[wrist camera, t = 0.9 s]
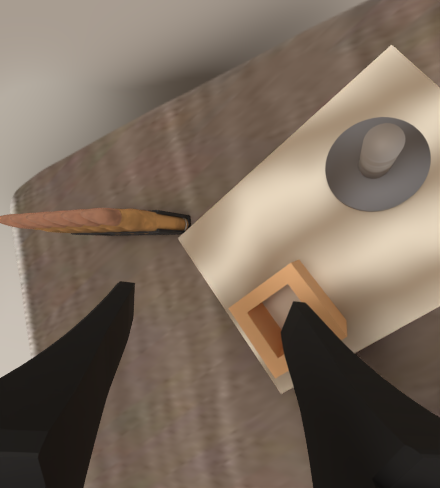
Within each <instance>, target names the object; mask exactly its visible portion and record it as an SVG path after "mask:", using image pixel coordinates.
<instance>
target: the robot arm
mask: <svg viewBox="0 0 440 488" xmlns="http://www.w3.org/2000/svg"><path fill="white" fill-rule="evenodd" d="M134 290H135V283H130V282H121V281H120V282H119V283H117V285H116V286H115V287H114V288H113V289H112V290H111V292H110V293H109V294H108V295H107V296H106V297H105V298H104V299H103V300H102V301H101V302H100V303H99V304H98V305H97V306H96V307H95V308H94V309H93V310H92V311H91V312H90V313H89V314H88V315H87V316H86V317H85V318H84V319H83V320H81V321H80V322H79V323H78V324H77V325H76V326H75V327H74V328H72V329H71V330H70V331H69V332H68V333H66V334H65V335H64V336H63V337H61V338H60V339H59V340H57V341H56V342H55V343H53V344H52V345H51V346H49V347H48V348H47V349H45V350H44V351H42V352H41V353H39V354H38V355H37V356H35V357H34V358H32V359H31V360H29V361H28V362H26V363H25V364H23V365H22V366H20V367H18V368H16V369H15V370H13V371H11V372H10V373H8V374H6V375H5V376H3V377H1V378H0V488H83V487H84V482H85V478H86V474H87V470H88V466H89V463H90V459H91V455H92V451H93V447H94V443H95V439H96V435H97V431H98V428H99V424H100V420H101V416H102V413H103V409H104V405H105V402H106V398H107V395H108V392H109V389H110V386H111V384H112V381H113V378H114V376H115V373H116V370H117V368H118V365H119V362H120V360H121V357H122V354H123V352H124V349H125V346H126V343H127V341H128V337H129V333H130V329H131V325H132V321H133V313H134ZM281 339H282V345H283V351H284V356H285V359H286V363H287V366H288V370H289V373H290V376H291V380H292V383H293V386H294V390H295V393H296V396H297V400H298V403H299V407H300V411H301V416H302V421H303V426H304V432H305V437H306V443H307V449H308V455H309V461H310V468H311V475H312V481H313V488H440V418H439V417H438V416H436V415H435V414H433V413H431V412H430V411H428V410H427V409H425V408H424V407H422V406H421V405H419V404H418V403H416V402H415V401H413V400H412V399H410V398H409V397H408V396H406V395H405V394H403V393H402V392H401V391H399V390H398V389H397V388H395V387H394V386H393V385H391V384H390V383H389V382H387V381H386V380H385V379H383V378H382V377H381V376H380V375H378V374H377V373H376V372H375V371H374V370H373V369H371V368H370V367H369V366H368V365H367V364H365V363H364V362H363V361H362V360H361V359H360V358H359V357H358V356H357V355H356V354H355V353H354V352H353V351H351V350H350V349H349V348H348V347H347V346H346V345H345V344H344V343H343V342H342V341H341V340H340V339H339V338H338V337H337V336H336V335H335V333H334V332H333V331H332V330H331V329H330V328H329V327H328V326H327V325H326V324H325V323H324V322H323V321H322V319H321V318H320V317H319V316H318V315H317V314H316V313H315V312H314V311H313V310H312V309H311V308H310V306H309V305H308V304H307V303H305V302H296V301H293V303H292V305H291V308H290V310H289V313H288V315H287V318H286V320H285V323H284V325H283V328H282V330H281Z"/></svg>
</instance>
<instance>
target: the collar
mask: <svg viewBox="0 0 440 488" xmlns="http://www.w3.org/2000/svg"><path fill="white" fill-rule="evenodd" d="M287 284H288V285H289V286H290V287H291V289H292V290H293V291H294V293H295V294H296V295H297V297H298V298H299V299H300V301H301V302H305V303H307V304H308V305H309V306H310V308H311V309H312V310H313V311H314V312H315V313H316V314H317V315H318V316H319V317H320V318H321V319H322V321H323V322H324V323H325V324H326V325H327V326H328V327H329V328H330V329H331V330H332V331H333V332H334V333H335V335H336V336H337V337H338V338H339V339H340V340H343V339H344V338H346V337H347V320H346V319H345V318H344V316H343V315H342V314H341V313H340V311H339V310H338V309H337V307H336V306H335V305H334V304H333V302H332V301H331V300H330V298H329V297H328V296H327V295H326V293H325V292H324V291H323V289H322V288H321V287H320V286H319V284H318V283H317V282H316V280H315V279H314V278H313V277H312V275H311V274H310V273H309V271H308V270H307V269H306V268H305V266H304V265H303V264H302V262H301V261H300V260H297V261H294V262H291V263H290V264H288V265H287V266H286V267H284V268H283V269H282V270H280V271H279V272H277V273H276V274H275V275H273V276H272V277H271V278H269V279H268V280H266V281H265V282H264V283H262V284H261V285H260V286H258V287H257V288H255V289H254V290H253V291H251V292H250V293H249V294H247V295H246V296H244V297H243V298H242V299H240V300H239V301H238V302H236V303H235V304H233V305H232V306H231V307H229V308H228V309H229V310H230V312H231V313H232V315H233V316H234V318H235V319H236V321H237V322H238V324H239V325H240V327H241V328H242V330H243V331H244V333H245V334H246V336H247V337H248V339H249V340H250V342H251V343H252V345H253V346H254V348H255V349H256V351H257V352H258V354H259V355H260V357H261V358H262V360H263V361H264V363H265V364H266V366H267V367H268V369H269V370H270V372H271V373H272V375H273V376H274V378H277V377H279V376H280V375H282V374H284V373H286V372H287V371H289V370H288V366H287V363H286V359H285V356H284V351H283V345H282V339H281V328H280V327H279V326H278V324H277V323H276V321H275V320H274V319H273V317H272V316H271V314H270V313H269V311H268V310H267V309H266V307H265V306H264V304H263V303H262V302H263V301H264V300H266V299H267V298H268V297H270V296H271V295H273V294H274V293H276V292H277V291H278V290H280V289H281V288H283V287H284V286H286V285H287Z"/></svg>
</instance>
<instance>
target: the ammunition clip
mask: <svg viewBox="0 0 440 488" xmlns="http://www.w3.org/2000/svg"><path fill="white" fill-rule="evenodd" d="M0 223H2V224H5V225H8V226H12V227H18V228H26V229H36V230H44V231H48V232H60V233H71V234H74V235H104V236H118V235H169V234H183V233H184V232H185V231H186V230H187V229H189V228H190V216H189V215H183V214H177V213H171V212H166V211H160V210H152V211H145V210H138V209H111V208H94V209H79V210H70V211H54V212H39V213H24V214H10V215H3V216H0Z"/></svg>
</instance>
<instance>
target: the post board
mask: <svg viewBox="0 0 440 488" xmlns="http://www.w3.org/2000/svg"><path fill="white" fill-rule="evenodd" d="M178 240H179V241H180V243H181V244H182V246H183V247H184V249H185V250H186V252H187V253H188V255H189V256H190V258H191V259H192V261H193V262H194V264H195V265H196V267H197V268H198V270H199V271H200V273H201V274H202V276H203V277H204V279H205V280H206V282H207V283H208V285H209V286H210V288H211V289H212V291H213V292H214V294H215V295H216V297H217V298H218V300H219V301H220V303H221V304H222V306H223V307H224V309H225V310H226V312H227V313H228V315H229V316H230V318H231V319H232V321H233V322H234V324H235V325H236V327H237V328H238V330H239V331H240V333H241V334H242V336H243V337H244V339H245V340H246V342H247V343H248V345H249V346H250V348H251V349H252V351H253V352H254V354H255V355H256V357H257V358H258V360H259V361H260V363H261V364H262V366H263V367H264V369H265V371H266V372H267V374H268V375H269V377H270V378H271V380H272V381H273V383H274V384H275V386H276V387H277V389H278V390H279V392H280V393H281V394H282V393H284V392H285V391H287V390H289V389H291V388H293V387H294V386H293V383H292V380H291V376H290V373H289V371H287V372H286V373H284V374H282V375H280V376H279V377H277V378H274V376H273V375H272V373H271V372H270V370H269V369H268V367H267V366H266V364H265V363H264V361H263V360H262V358H261V357H260V355H259V354H258V352H257V351H256V349H255V348H254V346H253V345H252V343H251V342H250V340H249V339H248V337H247V336H246V334H245V333H244V331H243V330H242V328H241V327H240V325H239V324H238V322H237V321H236V319H235V318H234V316H233V315H232V313H231V312H230V310H229V309H228V308H229V307H231V306H232V305H233V304H235V303H236V302H238V301H239V300H240V299H242V298H243V297H244V296H246V295H247V294H249V293H250V292H251V291H253V290H254V289H255V288H257V287H258V286H260V285H261V284H262V283H264V282H265V281H266V280H268V279H269V278H271V277H272V276H273V275H275V274H276V273H277V272H279V271H280V270H282V269H283V268H284V267H286V266H287V265H288V264H290V263H291V262H294V261H297V260H300V261H301V262H302V264H303V265H304V266H305V268H306V269H307V270H308V271H309V273H310V274H311V275H312V277H313V278H314V279H315V280H316V282H317V283H318V284H319V286H320V287H321V288H322V289H323V291H324V292H325V293H326V295H327V296H328V297H329V298H330V300H331V301H332V302H333V304H334V305H335V306H336V307H337V309H338V310H339V311H340V313H341V314H342V315H343V316H344V318H345V319H346V320H347V337H346V338H344V339H343V340H341V341H342V342H343V343H344V344H345V345H346V346H347V347H348V348H349V349H350V350H351V351H353V352H354V353H356V352H358V351H360V350H361V349H363V348H365V347H367V346H369V345H370V344H372V343H374V342H376V341H378V340H379V339H381V338H383V337H385V336H387V335H388V334H390V333H392V332H394V331H396V330H397V329H399V328H401V327H403V326H405V325H407V324H408V323H410V322H412V321H414V320H416V319H417V318H419V317H421V316H423V315H425V314H426V313H428V312H430V311H432V310H434V309H435V308H437V307H439V306H440V87H438V86H437V85H436V84H435V83H434V82H433V81H432V80H431V79H429V78H428V77H427V76H426V75H425V74H424V73H423V72H422V71H420V70H419V69H418V68H417V67H416V66H415V65H414V64H413V63H411V62H410V61H409V60H408V59H407V58H406V57H405V56H404V55H402V54H401V53H400V52H399V51H398V50H397V49H396V48H394V47H393V46H392V45H391V46H390V47H389V48H388V49H386V50H385V51H384V52H383V53H382V54H381V55H380V56H379V57H378V58H376V59H375V60H374V61H373V62H372V63H371V64H370V65H369V66H368V67H367V68H365V69H364V70H363V71H362V72H361V73H360V74H359V75H358V76H357V77H355V78H354V79H353V80H352V81H351V82H350V83H349V84H348V85H347V86H346V87H344V88H343V89H342V90H341V91H340V92H339V93H338V94H337V95H336V96H334V97H333V98H332V99H331V100H330V101H329V102H328V103H327V104H326V105H325V106H323V107H322V108H321V109H320V110H319V111H318V112H317V113H316V114H315V115H313V116H312V117H311V118H310V119H309V120H308V121H307V122H306V123H305V124H304V125H302V126H301V127H300V128H299V129H298V130H297V131H296V132H295V133H294V134H292V135H291V136H290V137H289V138H288V139H287V140H286V141H285V142H284V143H283V144H281V145H280V146H279V147H278V148H277V149H276V150H275V151H274V152H273V153H271V154H270V155H269V156H268V157H267V158H266V159H265V160H264V161H263V162H262V163H260V164H259V165H258V166H257V167H256V168H255V169H254V170H253V171H252V172H250V173H249V174H248V175H247V176H246V177H245V178H244V179H243V180H242V181H241V182H239V183H238V184H237V185H236V186H235V187H234V188H233V189H232V190H231V191H229V192H228V193H227V194H226V195H225V196H224V197H223V198H222V199H221V200H220V201H218V202H217V203H216V204H215V205H214V206H213V207H212V208H211V209H210V210H208V211H207V212H206V213H205V214H204V215H203V216H202V217H201V218H200V219H199V220H197V221H196V222H195V223H194V224H193V225H192V226H191V227H190V228H189V229H187V230H186V231H185V232H184V233H183V234H182V235H181V236H180V237H179V238H178ZM293 301H296V302H301V301H300V299H299V298H298V297H297V295H296V294H295V293H294V291H293V290H292V289H291V287H290V286H289V285H288V284H287V285H286V286H284V287H283V288H281V289H280V290H278V291H277V292H276V293H274V294H273V295H271V296H270V297H268V298H267V299H266V300H264V301H263V302H262V303H263V304H264V306H265V307H266V309H267V310H268V311H269V313H270V314H271V316H272V317H273V319H274V320H275V321H276V323H277V324H278V326H279V327H280V328H281V330H282V328H283V325H284V323H285V320H286V318H287V315H288V313H289V310H290V308H291V305H292V303H293Z"/></svg>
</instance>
